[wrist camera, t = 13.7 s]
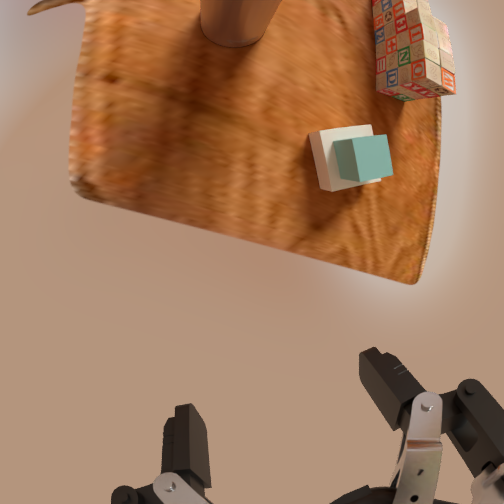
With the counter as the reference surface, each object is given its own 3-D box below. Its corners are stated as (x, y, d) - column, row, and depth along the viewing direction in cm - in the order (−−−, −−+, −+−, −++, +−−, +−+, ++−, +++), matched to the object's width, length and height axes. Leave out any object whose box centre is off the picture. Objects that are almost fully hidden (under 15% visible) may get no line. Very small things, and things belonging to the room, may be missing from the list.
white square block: (308, 133, 35) (319, 130, 31) (356, 126, 35) (371, 124, 32) (320, 188, 38) (331, 191, 34) (366, 178, 38) (381, 180, 34)
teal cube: (332, 141, 32) (351, 138, 27) (364, 136, 32) (386, 134, 27) (340, 178, 33) (360, 182, 29) (371, 172, 34) (393, 175, 29)
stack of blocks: (369, -5, 28) (407, -32, 16) (397, 8, 29) (437, -14, 17) (375, 92, 34) (427, 77, 23) (404, 103, 35) (457, 95, 24)
